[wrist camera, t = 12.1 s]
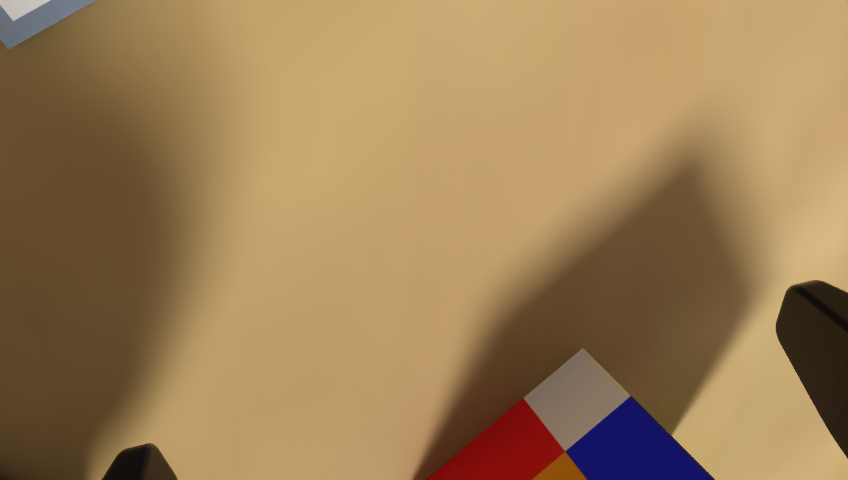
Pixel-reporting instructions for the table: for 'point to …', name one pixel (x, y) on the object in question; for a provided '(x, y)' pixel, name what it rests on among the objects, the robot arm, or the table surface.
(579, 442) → the puzzle toy
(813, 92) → the table surface
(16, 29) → the blueprint board
